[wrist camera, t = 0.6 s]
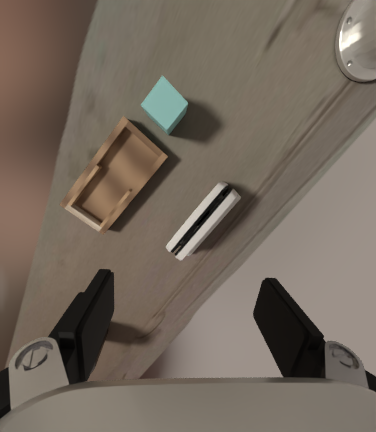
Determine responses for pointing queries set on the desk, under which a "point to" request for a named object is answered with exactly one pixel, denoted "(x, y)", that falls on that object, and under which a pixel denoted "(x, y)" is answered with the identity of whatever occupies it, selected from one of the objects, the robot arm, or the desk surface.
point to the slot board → (114, 176)
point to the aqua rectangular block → (165, 105)
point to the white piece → (195, 235)
